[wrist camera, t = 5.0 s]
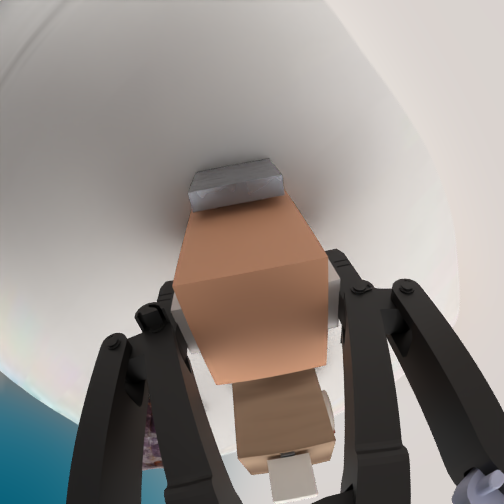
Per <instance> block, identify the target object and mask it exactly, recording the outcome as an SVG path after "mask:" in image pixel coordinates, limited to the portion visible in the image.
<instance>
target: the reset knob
mask: <svg viewBox="0 0 504 504" xmlns="http://www.w3.org/2000/svg"><path fill="white" fill-rule="evenodd" d="M267 463H268V470H269V476H270V483H271V490H272V497H273V502H274V503H275V504H282V503H288V502H294V501H299V500H304V499H309V498H314V497H317V495H318V491H317V486H316V482H315V477H314V473H313V469H312V464H311V459H310V455H309V453H305V454H300V455H295V456H290V457H284V458H279V459H272V460H267Z"/></svg>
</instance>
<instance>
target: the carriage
mask: <svg viewBox="0 0 504 504" xmlns="http://www.w3.org/2000/svg"><path fill="white" fill-rule="evenodd" d="M284 193H285V195H283V196H277V197H271V198H266V199H262V200H257V201H251V202H246V203H241V204H235V205H230V206H225V207H220V208H215V209H214V208H213V209H208V210H204V211H199V212H194V213H193V211H192V210H191V213H190V217H189V221H188V224H187V228H186V232H185V236H184V240H183V243H182V247H181V251H180V255H179V259H178V264H177V268H176V272H175V276H174V281H173V285H172V287H173V289H174V292H175V294H176V297H177V299H178V302H179V304H180V307H181V309H182V311H183V314H184V316H185V318H186V321H187V323H188V325H189V328H190V330H191V332H192V335H193V337H194V339H195V341H196V343H197V346H198V348H199V350H200V352H201V354H202V356H203V359H204V361H205V363H206V365H207V367H208V369H209V371H210V373H211V375H212V377H213V379H214V381H215V383H216V385H222V384H229V383H236V382H243V381H250V380H256V379H262V378H267V377H273V376H278V375H283V374H288V373H293V372H298V371H302V370H307V369H311V368H315V367H320V366H324V365H326V359H327V336H328V256H327V254H326V253H325V251H324V249H323V248H322V246H321V245H320V243H319V241H318V240H317V238H316V237H315V235H314V233H313V232H312V230H311V229H310V227H309V226H308V224H307V222H306V221H305V219H304V218H303V216H302V215H301V213H300V212H299V210H298V209H297V207H296V206H295V204H294V203H293V201H292V200H291V198H290V197H289V195H288V194H287V192H286V191H285V189H284Z"/></svg>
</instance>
